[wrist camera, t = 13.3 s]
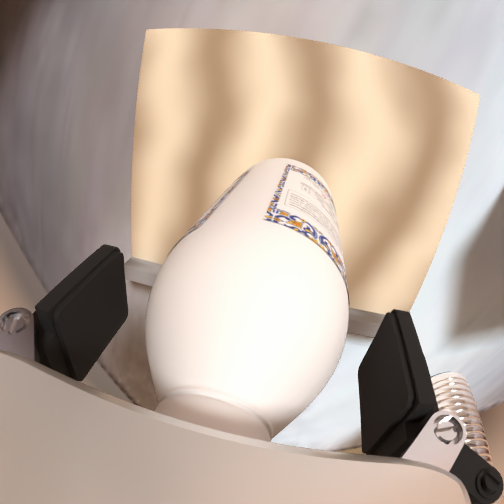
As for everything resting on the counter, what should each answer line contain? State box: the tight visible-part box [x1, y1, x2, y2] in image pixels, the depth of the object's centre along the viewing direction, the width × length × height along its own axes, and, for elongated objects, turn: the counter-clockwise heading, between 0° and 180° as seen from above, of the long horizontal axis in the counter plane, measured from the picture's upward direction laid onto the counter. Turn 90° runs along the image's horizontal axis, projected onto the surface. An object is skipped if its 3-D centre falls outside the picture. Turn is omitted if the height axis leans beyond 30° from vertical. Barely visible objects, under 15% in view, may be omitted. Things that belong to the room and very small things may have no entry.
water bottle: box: [431, 372, 493, 466], centre depth 18 cm, size 7×7×25 cm
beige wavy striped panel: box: [124, 28, 480, 337], centre depth 21 cm, size 23×20×4 cm
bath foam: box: [145, 158, 349, 442], centre depth 13 cm, size 7×7×20 cm
